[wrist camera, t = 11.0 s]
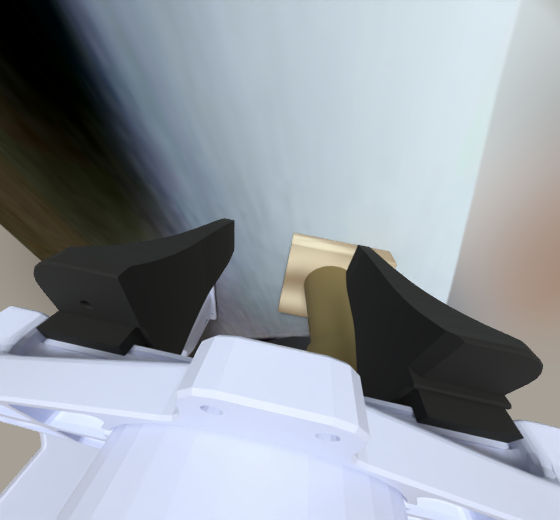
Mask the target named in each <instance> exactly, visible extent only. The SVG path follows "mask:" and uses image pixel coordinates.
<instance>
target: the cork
mask: <svg viewBox="0 0 560 520" xmlns="http://www.w3.org/2000/svg"><path fill="white" fill-rule="evenodd" d="M346 271H347V270H346V269H343V268H341V267H336V266H324V267H321V268H318V269H315V270H314V271H312V272H311V273H309V275H308V276H307V277H306V279H305V282H304V290H305V298H306V307H307V315H308V323H309V332H310V340H311V343H310V344H309V345H308V347H307V350H306V351H308V352H313V353H317V354H322V355H326V356H330V357H333V358H335V359H338V360H340V361H343V362H346V363H347V364H349V365H350V366H351V367H352V368H353V369H354V370H355V372H356V373H357V363H356V344H355V332H354V323H353V318H352V313H351V308H350V303H349V298H348V293H347V288H346Z"/></svg>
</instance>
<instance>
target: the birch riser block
mask: <svg viewBox="0 0 560 520" xmlns="http://www.w3.org/2000/svg"><path fill="white" fill-rule="evenodd" d="M357 246H358V245H353V244H348V243H343V242H338V241H333V240H328V239H323V238H318V237H313V236H307V235H302V234H297V233H294V235H293V240H292V245H291V250H290V254H289V259H288V264H287V269H286V274H285V279H284V283H283V288H282V293H281V298H280V303H279V308H278V311H279V312H283V313H288V314H293V315H297V316H302V317H307V318H308V315H307V307H306V298H305V290H304V282H305V279H306V277H307V276H308V275H309V273H311V272H312V271H314V270H315V269H318V268H321V267H324V266H336V267H341V268H343V269H346V270H347V269H348V266H349V264H350V262H351V260H352V257H353V255H354V253H355V251H356V248H357ZM371 249H372V250H374V251H375V252H376V253H377V254H378V255H380V256H381V257H382V258H383V259H384V260H385V261H386V262H387V263H389V264H390V265H391V266H392V267H393V268H394V269H395V267H396V266H397V264H396V262H395V260H394V258H393V257H392V255H391V253H390V252H388V251H383V250H378V249H373V248H371Z"/></svg>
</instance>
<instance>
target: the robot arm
mask: <svg viewBox="0 0 560 520" xmlns="http://www.w3.org/2000/svg"><path fill="white" fill-rule="evenodd" d="M233 252H234V220H230V219H225V218H224V219H220V220H217V221H214V222H212V223H209V224H207V225H204V226H201V227H199V228H196V229H193V230H190V231H187V232H184V233H181V234H177V235H174V236H170V237H165V238H161V239H156V240H150V241H144V242H138V243H130V244H120V245H107V246H83V247H69V248H67V249H65V250H63V251H61V252H59V253H57V254H55V255H53V256H51V257H49V258H47V259H45V260H43V261H41V262H39V263H38V264H37V265H36V266H35V268H34V277H35V280H36V282H37V283H38V285H39V286H40V288H41V289H42V290H43V291H44V293H45V294H46V295H47V296H48V297H49V299H50V300H51V301H52V302H53V303H54V305H55V306H56V307H57V309H58V310H59V311H58V312H56V313H55V314H54V315H52V316H51V317H49V316H48V315H46V314H44V313H41V312H38V311H34V310H29V309H25V308H20V307H16V306H10V307H8V308H6V309H5V310H3V311H2V312H0V421H1V422H5V423H9V424H12V425H16V426H20V427H23V428H27V429H31V430H34V431H37V432H39V433H40V438H41V447H40V449H39V450H38V451H37V452H36V453H35V454H34V456H33V457H32V458H31V459H30V460H29V461H28V463H27V464H26V465H25V466H24V467H23V468H22V470H21V471H20V472H19V473H18V474H17V475H16V477H15V478H14V479H13V480H12V481H11V483H10V484H9V485H8V486H7V487H6V488H5V490H4V491H3V492H2V493H1V494H0V520H560V428H558V427H555V426H550V425H546V424H541V423H537V422H532V421H528V420H512V419H511V417H510V416H509V414H508V413H507V411H506V410H505V409H511V404H510V403H509V401H508V400H507V398H506V397H505V395H506V394H508V393H510V392H512V391H514V390H516V389H519V388H521V387H523V386H525V385H527V384H529V383H530V382H532V381H534V380H535V379H537V378H538V376H539V375H540V374H541V372H542V369H543V364H542V362H541V361H540V359H539V358H538V357H537V356H536V355H535V354H534V353H533V352H532V351H531V350H530V349H529V347H528V346H526V344H524V343H523V342H522V341H520V340H518V339H516V338H514V337H511V336H509V335H507V334H505V333H503V332H500V331H498V330H496V329H493V328H491V327H489V326H487V325H484V324H482V323H480V322H478V321H476V320H474V319H472V318H470V317H468V316H466V315H464V314H462V313H460V312H459V311H457V310H455V309H453V308H451V307H449V306H448V305H446V304H444V303H443V302H441V301H439V300H437V299H436V298H434V297H433V296H431V295H429V294H428V293H426V292H425V291H423V290H422V289H420V288H419V287H418V286H416V285H415V284H413V283H412V282H411V281H409V280H408V279H407V278H405V277H404V276H403V275H402V274H400V273H399V272H398V271H397V270H396V269H394V268H393V267H392V266H391V265H390V264H389V263H387V262H386V261H385V260H384V259H383V258H382V257H381V256H380V255H378V254H377V253H376V252H375V251H374V250H372V249H371V248H370V247H366V246H361V245H358V246H357V248H356V251H355V253H354V255H353V257H352V260H351V262H350V264H349V266H348V269H347V271H346V288H347V293H348V298H349V303H350V308H351V313H352V318H353V323H354V332H355V344H356V363H357V373H356V372H355V370H354V369H353V368H352V367H351V366H350V365H349V364H347V363H346V362H343V361H340V360H338V359H335V358H333V357H330V356H326V355H322V354H317V353H313V352H308V351H304V350H299V349H294V348H290V347H285V346H280V345H276V344H272V343H267V342H262V341H258V340H253V339H249V338H244V337H240V336H229V335H217V336H214V337H212V338H209V339H207V340H204V341H202V342H201V344H200V346H199V348H198V350H197V352H196V354H195V356H194V358H191V357H187V356H188V355H189V354H190V353H191V352H192V351H193V350H194V348H195V346H196V344H197V342H198V341H199V339H200V337H201V335H202V333H203V331H204V329H205V327H206V325H207V324H208V322H209V320H210V319H213V320H215V319H216V318H217V313H216V301H215V288H214V285H215V283H216V282H217V280H218V278H219V277H220V275H221V274H222V272H223V271H224V269H225V268H226V266H227V264H228V263H229V261H230V259H231V256H232V254H233Z"/></svg>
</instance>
